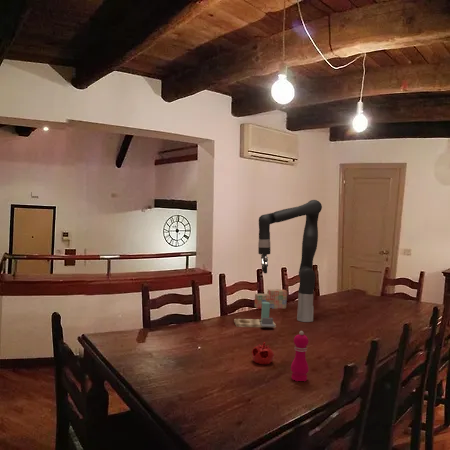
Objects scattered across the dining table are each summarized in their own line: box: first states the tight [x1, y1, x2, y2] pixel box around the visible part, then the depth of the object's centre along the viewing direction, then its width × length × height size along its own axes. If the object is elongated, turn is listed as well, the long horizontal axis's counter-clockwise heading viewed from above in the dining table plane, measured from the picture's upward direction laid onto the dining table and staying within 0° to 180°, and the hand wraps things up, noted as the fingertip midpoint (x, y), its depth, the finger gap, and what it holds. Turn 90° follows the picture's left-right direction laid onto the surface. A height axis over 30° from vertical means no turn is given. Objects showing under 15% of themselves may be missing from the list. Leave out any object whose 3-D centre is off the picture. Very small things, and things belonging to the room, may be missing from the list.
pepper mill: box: [290, 330, 309, 382], centre depth 183 cm, size 7×7×20 cm
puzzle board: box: [233, 318, 277, 329], centre depth 263 cm, size 23×12×2 cm, turn 95°
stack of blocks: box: [254, 288, 288, 310], centre depth 311 cm, size 21×6×12 cm, turn 104°
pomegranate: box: [251, 341, 275, 365], centre depth 201 cm, size 10×10×9 cm
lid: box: [260, 317, 275, 328], centre depth 255 cm, size 7×7×4 cm
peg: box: [260, 302, 271, 322], centre depth 263 cm, size 4×4×13 cm
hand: (264, 272), depth 280 cm, fingers open, 8 cm apart
